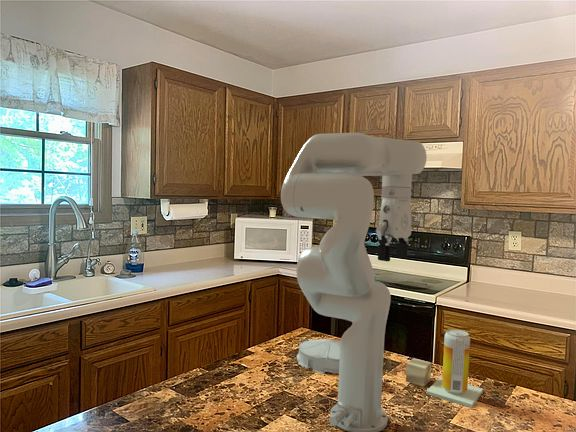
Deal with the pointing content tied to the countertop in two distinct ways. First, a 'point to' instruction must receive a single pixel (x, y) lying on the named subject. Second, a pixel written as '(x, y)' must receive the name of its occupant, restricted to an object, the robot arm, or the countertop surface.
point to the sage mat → (463, 399)
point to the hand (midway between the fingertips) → (392, 259)
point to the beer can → (456, 361)
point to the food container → (320, 355)
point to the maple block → (418, 372)
